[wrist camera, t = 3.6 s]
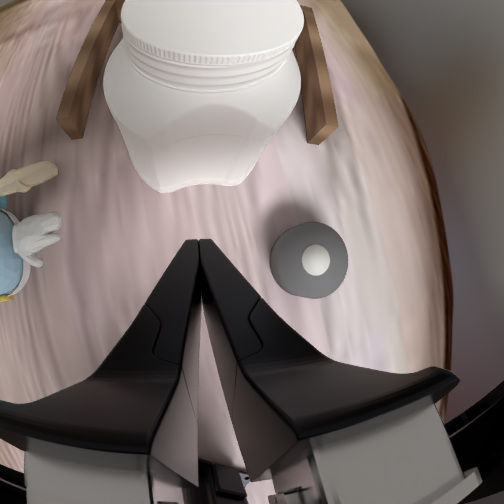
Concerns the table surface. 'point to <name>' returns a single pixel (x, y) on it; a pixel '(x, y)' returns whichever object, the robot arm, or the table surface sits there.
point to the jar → (202, 86)
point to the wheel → (309, 260)
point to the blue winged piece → (24, 228)
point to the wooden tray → (100, 36)
